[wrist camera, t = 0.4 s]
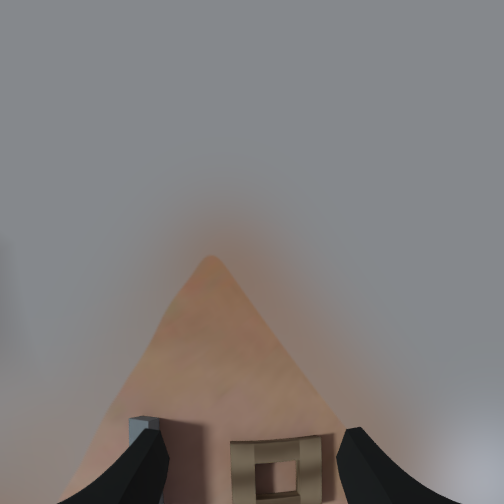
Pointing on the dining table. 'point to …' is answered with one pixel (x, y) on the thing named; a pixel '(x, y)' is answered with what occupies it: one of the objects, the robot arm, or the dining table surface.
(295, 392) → the dining table surface
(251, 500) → the socket block
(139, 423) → the wall
